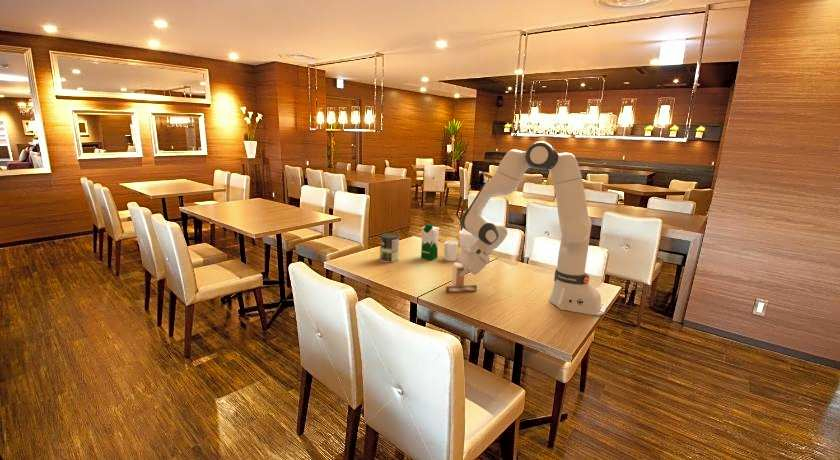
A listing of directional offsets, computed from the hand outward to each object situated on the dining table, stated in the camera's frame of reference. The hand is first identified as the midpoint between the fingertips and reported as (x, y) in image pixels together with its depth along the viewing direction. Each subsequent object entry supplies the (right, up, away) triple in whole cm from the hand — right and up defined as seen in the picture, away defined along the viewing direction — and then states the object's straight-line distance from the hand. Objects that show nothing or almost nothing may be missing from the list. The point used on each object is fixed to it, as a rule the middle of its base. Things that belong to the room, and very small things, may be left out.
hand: (457, 273), depth 177 cm
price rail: (+2, -8, -3) cm, 8 cm away
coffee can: (-34, +3, +38) cm, 51 cm away
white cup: (0, +3, +43) cm, 43 cm away
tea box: (0, -6, +2) cm, 6 cm away
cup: (+11, +5, +53) cm, 55 cm away
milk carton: (-12, +4, +44) cm, 46 cm away
